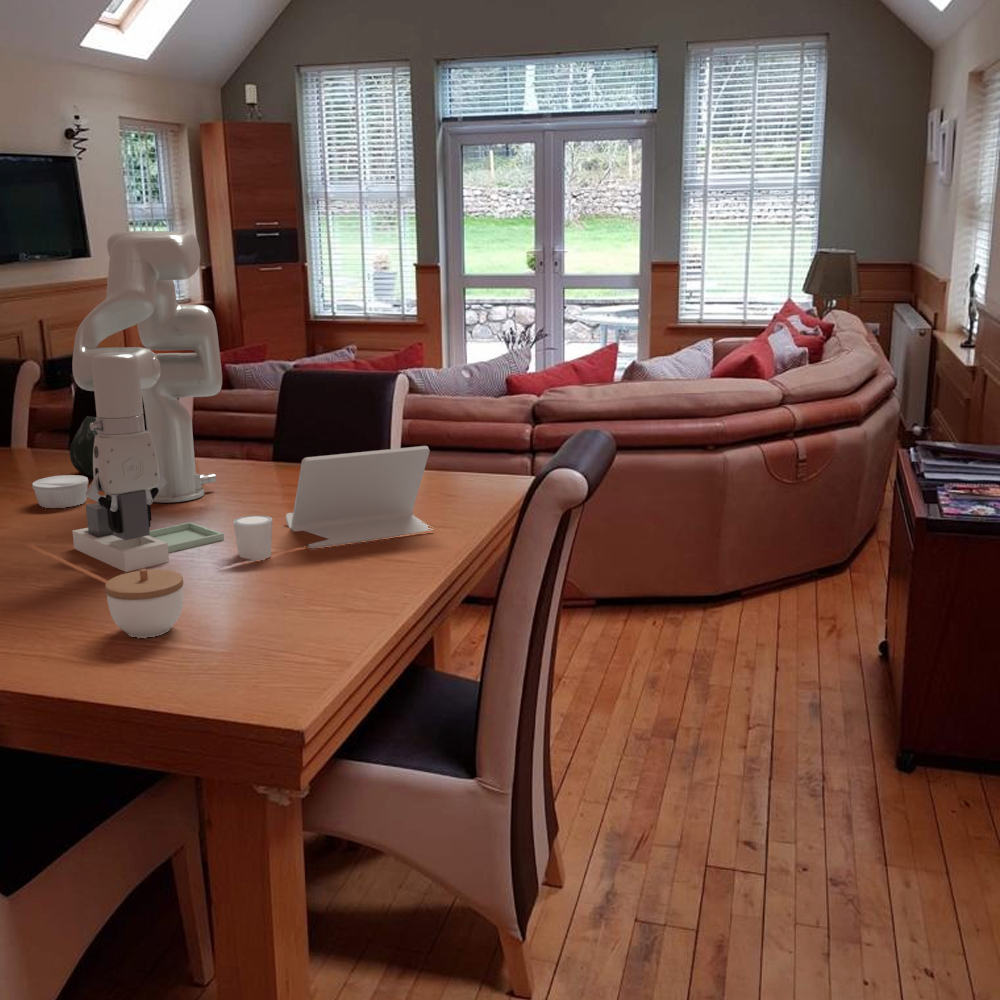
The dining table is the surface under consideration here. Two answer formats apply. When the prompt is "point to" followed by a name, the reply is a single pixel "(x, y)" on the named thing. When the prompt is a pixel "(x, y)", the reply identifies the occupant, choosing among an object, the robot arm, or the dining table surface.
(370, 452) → the tablet stand
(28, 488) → the dining table surface
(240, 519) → the white cup
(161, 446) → the robot arm
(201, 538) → the tray
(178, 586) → the lidded jar
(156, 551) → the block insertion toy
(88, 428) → the squash
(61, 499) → the ramekin
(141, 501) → the plug
